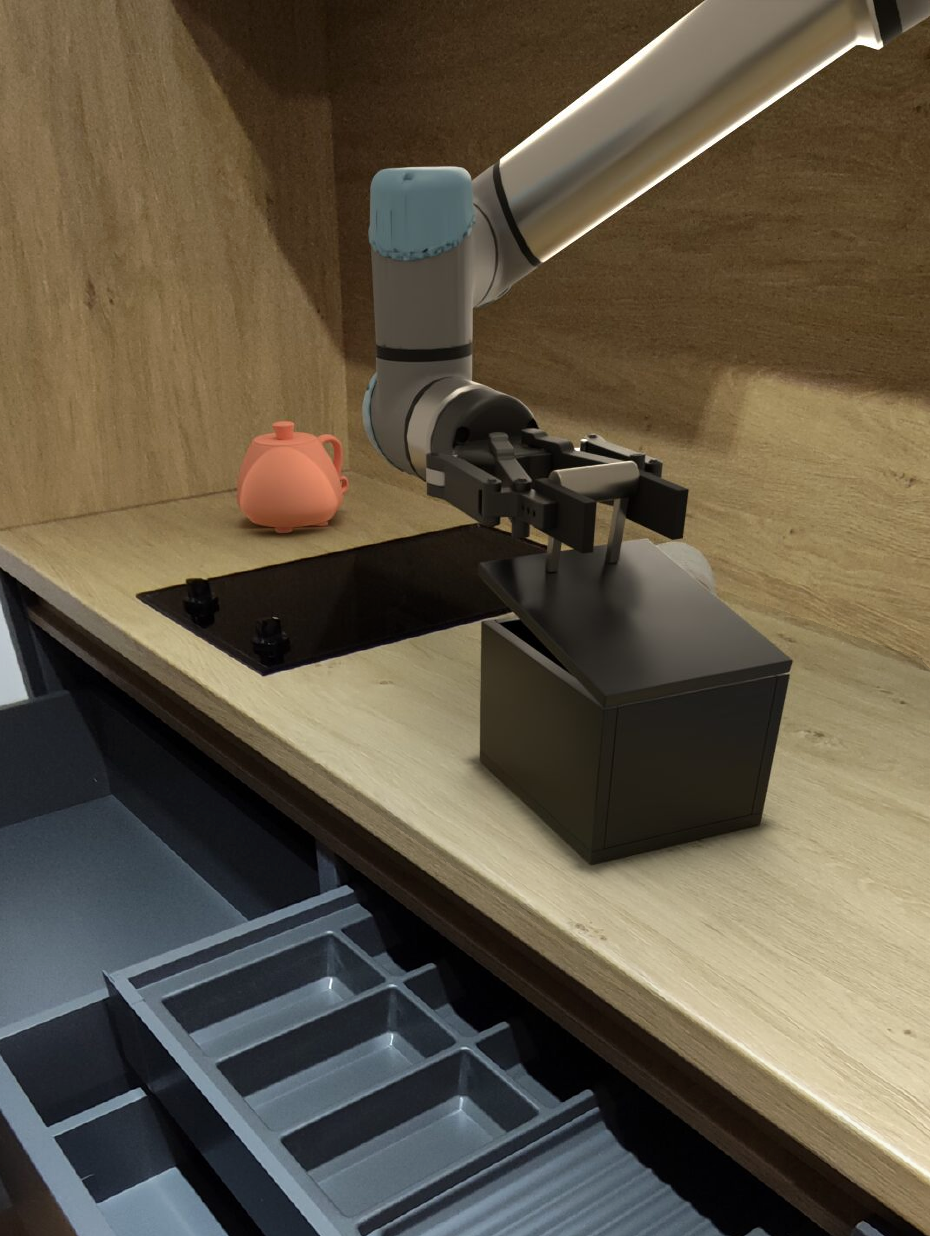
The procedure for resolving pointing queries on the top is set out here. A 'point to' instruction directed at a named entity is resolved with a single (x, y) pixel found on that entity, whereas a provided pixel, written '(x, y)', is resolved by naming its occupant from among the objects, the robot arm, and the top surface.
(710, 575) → the ceramic mug
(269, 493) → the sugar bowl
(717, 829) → the bin
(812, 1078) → the top surface
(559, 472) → the bin lid
